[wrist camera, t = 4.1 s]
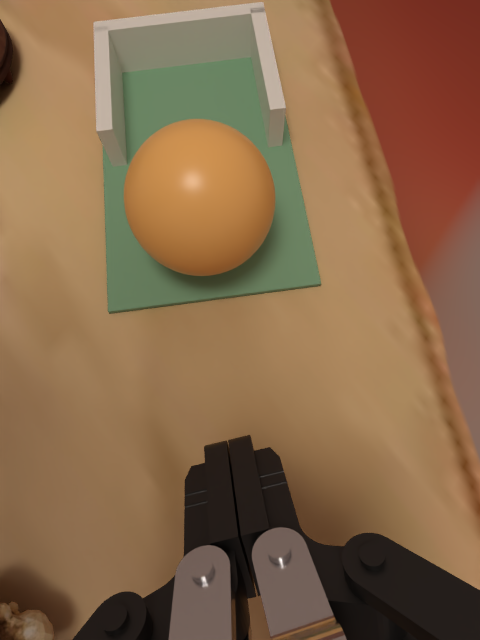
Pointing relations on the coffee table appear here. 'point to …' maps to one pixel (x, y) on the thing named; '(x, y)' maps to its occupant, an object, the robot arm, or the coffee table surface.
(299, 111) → the coffee table surface
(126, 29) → the white side walls
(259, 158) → the ball
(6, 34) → the dark wooden ornament
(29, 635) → the mineral formation
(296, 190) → the felt strip
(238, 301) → the coffee table surface
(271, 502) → the robot arm
